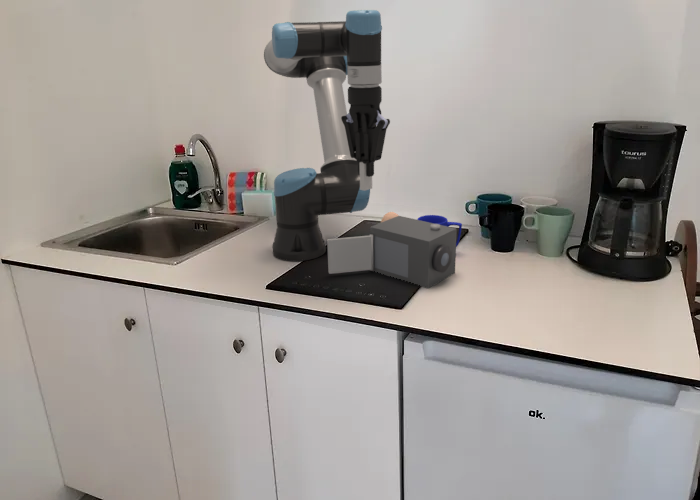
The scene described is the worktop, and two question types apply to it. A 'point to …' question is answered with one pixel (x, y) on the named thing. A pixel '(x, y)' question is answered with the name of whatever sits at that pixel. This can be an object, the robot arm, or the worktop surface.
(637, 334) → the worktop surface
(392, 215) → the egg
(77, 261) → the worktop surface
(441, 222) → the mug
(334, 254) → the door
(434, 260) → the camera body
